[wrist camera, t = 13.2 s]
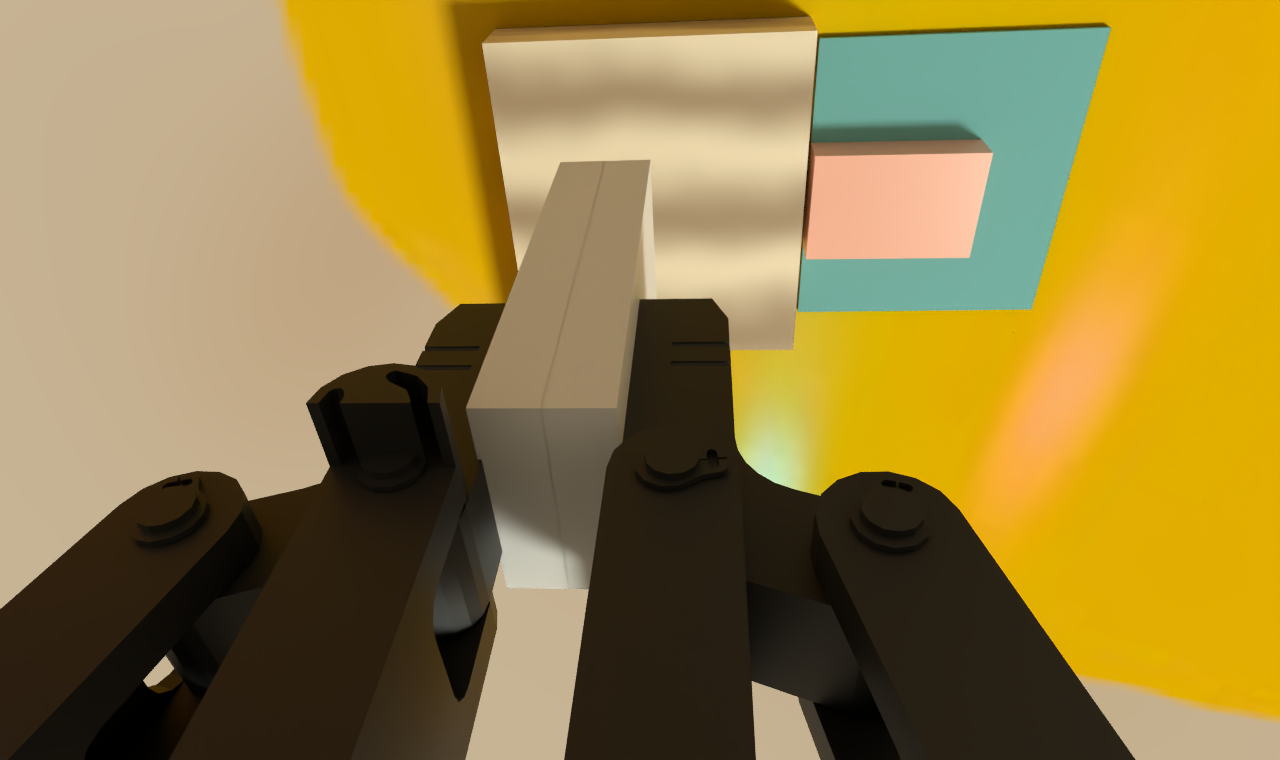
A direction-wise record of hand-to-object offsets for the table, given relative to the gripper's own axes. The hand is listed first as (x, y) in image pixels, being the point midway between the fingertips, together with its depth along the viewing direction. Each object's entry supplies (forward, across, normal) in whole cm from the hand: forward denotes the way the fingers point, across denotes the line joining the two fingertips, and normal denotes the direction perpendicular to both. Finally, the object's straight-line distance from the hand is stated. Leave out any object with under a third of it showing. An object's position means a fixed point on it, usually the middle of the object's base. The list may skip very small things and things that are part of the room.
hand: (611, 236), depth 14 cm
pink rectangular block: (+30, +12, -12) cm, 35 cm away
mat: (+30, +14, -12) cm, 36 cm away
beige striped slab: (+30, -1, -12) cm, 33 cm away
